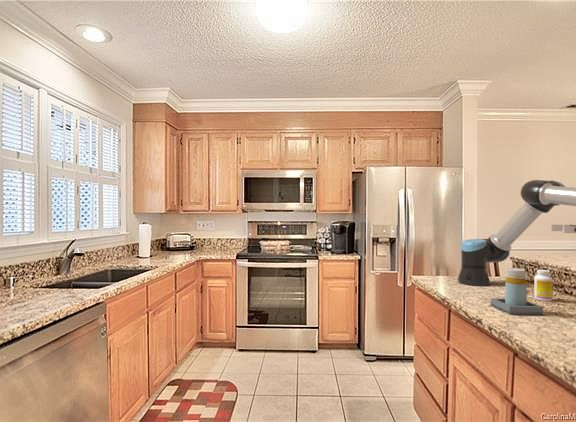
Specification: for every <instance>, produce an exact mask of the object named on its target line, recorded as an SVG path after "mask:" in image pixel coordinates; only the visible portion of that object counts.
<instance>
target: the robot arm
mask: <svg viewBox="0 0 576 422" xmlns="http://www.w3.org/2000/svg"><path fill="white" fill-rule="evenodd" d="M520 196H521V199H522V200H523V201H524V203H523V204H522V206H521V207H520V208H519V209H518V210H517V211H516V212H515V213H514V214H513V215H512V216H511V218H509V220H508V221H507V222H506V223H505V224H504V225H503V227H501V229H499V231H498V232H497V233H495V234H491V235H490V236H489V237H487V239H483V238H471V239H465V240H463V241H462V242H461V269H460V272H459V274H458V277H457V282H458V283H459V284H463V285H466V286H467V285H468V286H477V287H478V286H479V287H487V286H490V282H491V280H490V277H489V275H488V272H487V263H489V264H491V263H501V262H504V261H506V260H507V259H508V258H509V256H510V254H511V253H510V252H511V250H512V244H513V243H514V242H515V241H516V240H517V239H518V238H519V237H521V235H522V234H523V233H524V232H525V231H526V230H527V229H528V228H529V227H530V226H532V224H533V223H534V222H535V221H536V220H537V219H538V218H539V217H540V216H541V215H542V214H547V213H549V212H550V211H551V210H552V209H553V208H554V207H556V206H560V205H563V206H570V207H576V187H572V186H571V187H570V186H566V185H564V184H563V183H562V182H559V181H555V180H551V179H550V180H541V179H533V180H529V181H527V182H525V183H524V184H523V185H522V187H521V189H520ZM550 232H562V233H563V234H576V224H550Z"/></svg>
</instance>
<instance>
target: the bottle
mask: <svg viewBox="0 0 576 422" xmlns="http://www.w3.org/2000/svg"><path fill="white" fill-rule="evenodd" d="M526 271H527V270H526V269H525V268H524V269H523V268H518V267H517V268H516V267H515V268H514V267H507V268H506V278H505V281H504V283H505V285H504V286H505V288H504V289H505V291H504V292H505V294H504V296H505V297H504V299H505V304H508V305H510V306H527V301H528V299H527V298H528V296H527V294H528V293H527V292H528V289H527V288H528V284H527V283H528V282H527V280H526V276H527V275H526Z"/></svg>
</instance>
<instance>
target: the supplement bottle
mask: <svg viewBox="0 0 576 422" xmlns="http://www.w3.org/2000/svg"><path fill="white" fill-rule="evenodd" d="M550 275H551V270H548V269H547V270H546V269H537V270H536V275H535V276H534V279H533V282H534V283H533V284H534V285H533V289H534V290H533V291H534V292H533V294H534V295H533V298H534V299H535V300H537V301H543V302H553V299H554V286H553V285H554V279H553V277H552V276H550Z"/></svg>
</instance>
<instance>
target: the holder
mask: <svg viewBox="0 0 576 422" xmlns="http://www.w3.org/2000/svg"><path fill="white" fill-rule="evenodd" d="M490 306H491V307H492V308H494V309H497V310H499V311H501V312H503V313H505V312H506V313H505V314H507V313H508V314H507V315H509V316H510V315H511V316H513V315H515V316H521V315H522V316H544V307H543V306H541V305H539V304H536V303H533V302H531V301H528V300H527V306H510V305H508V304H505V298H497V297H495V298H490Z"/></svg>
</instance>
